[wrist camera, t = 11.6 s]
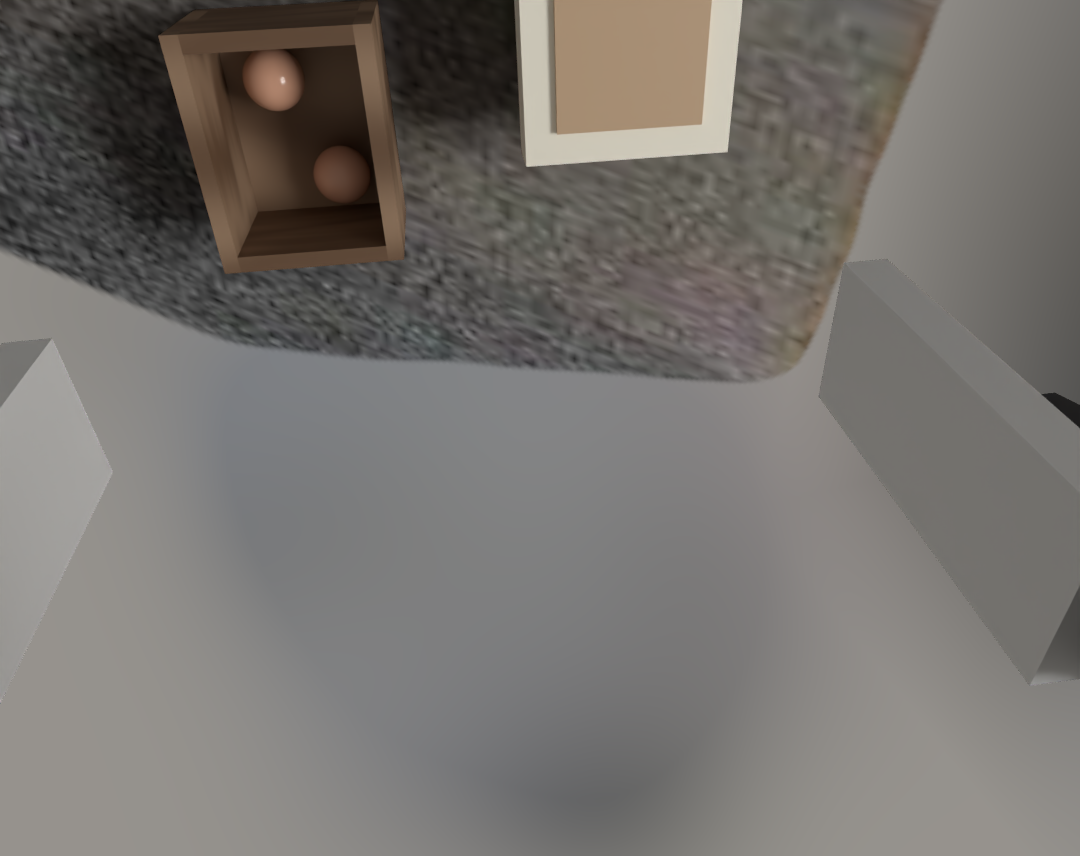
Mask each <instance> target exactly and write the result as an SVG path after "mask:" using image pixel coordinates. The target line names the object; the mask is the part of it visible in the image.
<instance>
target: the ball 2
mask: <svg viewBox="0 0 1080 856" xmlns="http://www.w3.org/2000/svg"><path fill="white" fill-rule="evenodd" d="M313 176H314V181H315V184H316V186H317V188H318V190H319V191H320V192H321V193H322V194H323V195H324V196H325V197H326V198H327V199H329V200H331V201H333V202H336V203H341V204H347V203H352V202H355V201H357V200H359V199H360V198H361V197H362V196H363V195H364V194H365V193H366V191H367V189H368V187H369V184H370V178H371V175H370V169H369V166H368V163H367V161H366V160H365V158H364V157H363V156H362V155H361V154H360V153H359V152H358V151H356V150H355V149H353V148H350V147H347V146H342V145H338V146H332V147H330V148H327V149H326V150H324V151H323V152H322V153H321V154H320V155H319V156H318V158H317V159H316V162H315V164H314V170H313Z"/></svg>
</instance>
